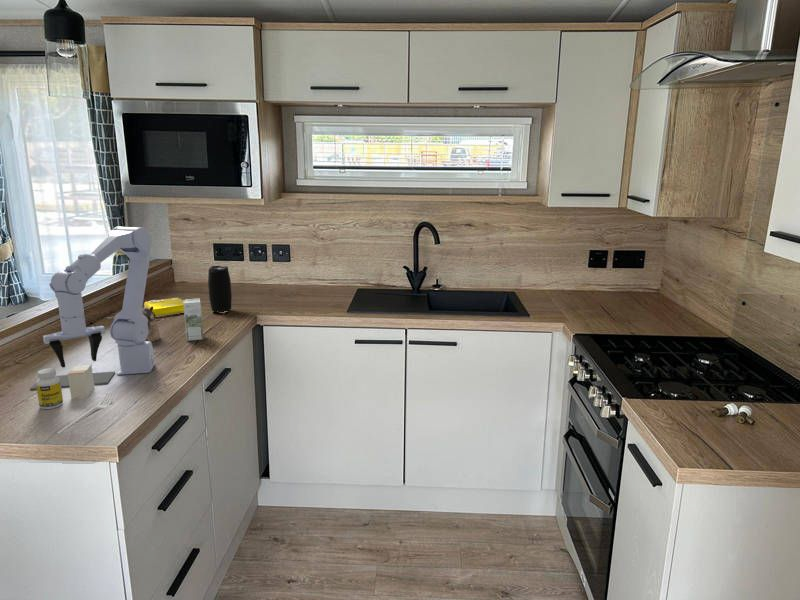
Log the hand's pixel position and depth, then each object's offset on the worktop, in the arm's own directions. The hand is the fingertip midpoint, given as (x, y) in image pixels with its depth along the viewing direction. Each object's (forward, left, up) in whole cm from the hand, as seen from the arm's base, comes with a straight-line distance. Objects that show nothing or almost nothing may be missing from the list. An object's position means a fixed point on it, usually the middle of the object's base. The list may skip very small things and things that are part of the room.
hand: (78, 363), depth 156 cm
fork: (-5, +16, -9) cm, 19 cm away
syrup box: (-25, -45, -9) cm, 52 cm away
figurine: (-9, -48, -9) cm, 50 cm away
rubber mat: (+5, -10, -9) cm, 14 cm away
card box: (0, 0, -9) cm, 9 cm away
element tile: (-9, -88, -9) cm, 89 cm away
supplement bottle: (+6, +7, -9) cm, 13 cm away
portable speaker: (-32, -82, -9) cm, 89 cm away
